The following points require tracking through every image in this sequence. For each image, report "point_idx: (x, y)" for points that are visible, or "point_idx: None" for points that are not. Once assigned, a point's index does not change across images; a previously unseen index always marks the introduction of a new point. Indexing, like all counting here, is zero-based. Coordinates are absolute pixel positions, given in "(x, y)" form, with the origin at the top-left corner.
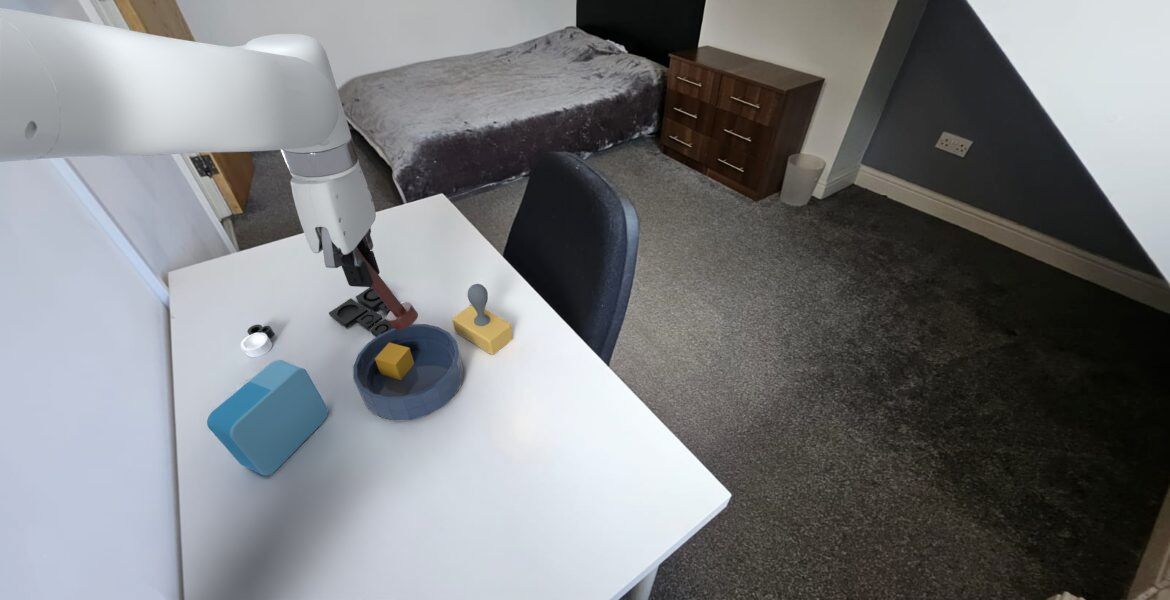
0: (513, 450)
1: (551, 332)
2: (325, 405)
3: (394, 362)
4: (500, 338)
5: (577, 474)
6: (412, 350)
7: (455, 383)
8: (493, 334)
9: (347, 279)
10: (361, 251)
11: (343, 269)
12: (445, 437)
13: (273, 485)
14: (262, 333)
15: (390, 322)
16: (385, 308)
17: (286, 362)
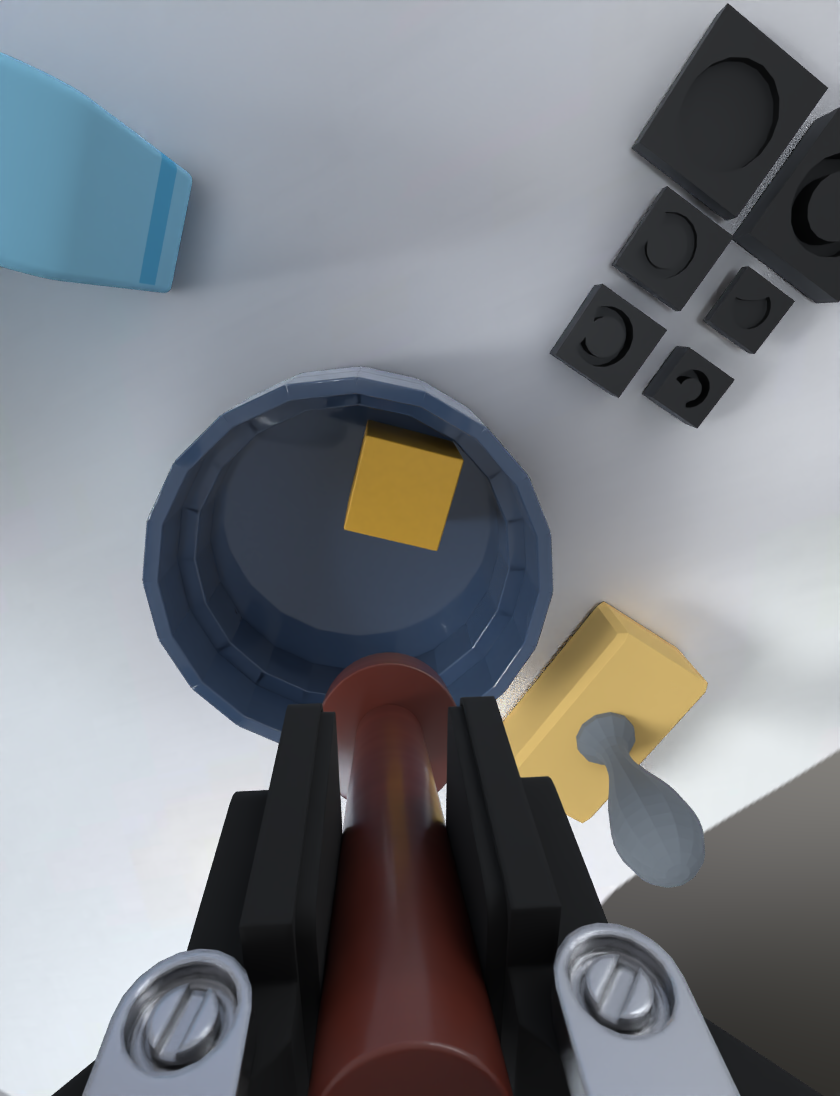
0: (166, 846)
1: (590, 868)
2: (157, 291)
3: (353, 522)
4: None
5: (135, 970)
6: (491, 496)
7: None
8: None
9: (278, 751)
10: (507, 1052)
11: (257, 846)
12: (169, 685)
13: None
14: None
15: (329, 691)
16: (736, 302)
17: (46, 146)
